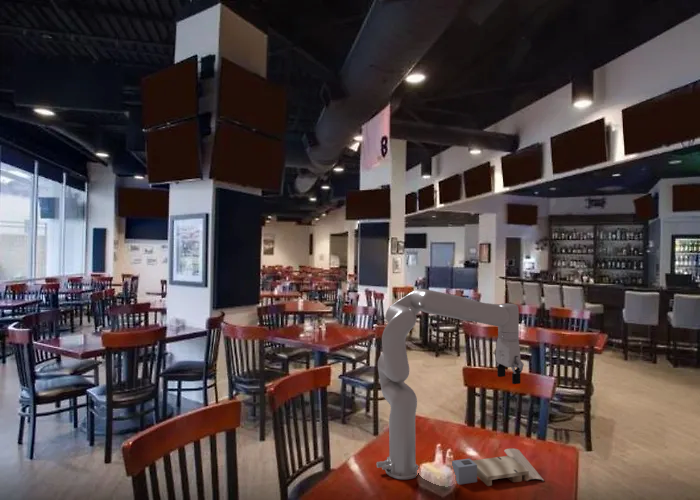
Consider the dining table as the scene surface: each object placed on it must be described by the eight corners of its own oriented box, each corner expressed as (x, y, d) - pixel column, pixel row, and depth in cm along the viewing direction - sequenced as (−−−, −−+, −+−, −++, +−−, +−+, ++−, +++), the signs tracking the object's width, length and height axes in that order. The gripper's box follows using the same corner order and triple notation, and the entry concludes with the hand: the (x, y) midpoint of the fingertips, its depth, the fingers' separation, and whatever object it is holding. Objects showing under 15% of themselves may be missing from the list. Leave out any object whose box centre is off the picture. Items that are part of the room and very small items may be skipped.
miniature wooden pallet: (487, 486, 153) (487, 476, 153) (470, 469, 164) (470, 460, 164) (528, 480, 156) (528, 470, 156) (508, 464, 168) (508, 455, 168)
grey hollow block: (458, 484, 154) (458, 466, 154) (452, 477, 159) (452, 460, 159) (477, 482, 156) (477, 464, 156) (470, 475, 160) (469, 457, 160)
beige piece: (544, 483, 156) (544, 478, 156) (523, 483, 156) (523, 478, 156) (519, 452, 179) (519, 448, 179) (501, 452, 179) (501, 448, 179)
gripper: (487, 332, 180) (487, 374, 180) (513, 340, 164) (513, 387, 164) (504, 331, 182) (504, 373, 182) (531, 339, 166) (531, 385, 166)
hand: (508, 380), depth 173 cm, fingers open, 9 cm apart
